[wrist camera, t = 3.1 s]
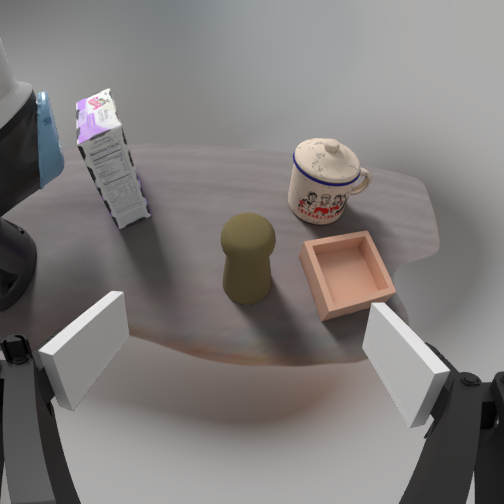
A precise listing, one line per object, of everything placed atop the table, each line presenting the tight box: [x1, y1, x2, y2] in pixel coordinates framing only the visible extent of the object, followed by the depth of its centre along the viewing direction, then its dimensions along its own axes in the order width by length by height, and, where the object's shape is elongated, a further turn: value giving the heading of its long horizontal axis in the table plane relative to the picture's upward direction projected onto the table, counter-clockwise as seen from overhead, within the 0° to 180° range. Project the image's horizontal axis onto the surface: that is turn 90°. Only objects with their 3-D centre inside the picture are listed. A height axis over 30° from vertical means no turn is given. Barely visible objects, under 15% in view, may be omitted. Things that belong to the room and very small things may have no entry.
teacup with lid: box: [288, 138, 372, 225], centre depth 37 cm, size 12×9×12 cm
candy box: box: [76, 88, 151, 229], centre depth 36 cm, size 14×6×16 cm, turn 29°
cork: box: [221, 213, 276, 304], centre depth 30 cm, size 6×6×11 cm
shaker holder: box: [299, 230, 396, 322], centre depth 34 cm, size 9×9×4 cm
